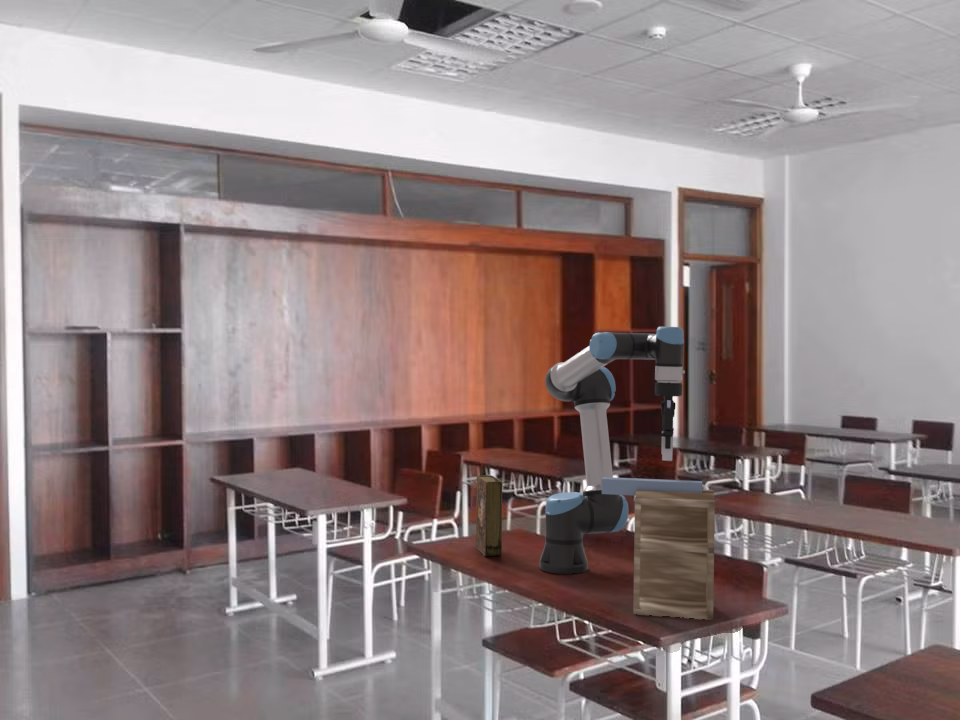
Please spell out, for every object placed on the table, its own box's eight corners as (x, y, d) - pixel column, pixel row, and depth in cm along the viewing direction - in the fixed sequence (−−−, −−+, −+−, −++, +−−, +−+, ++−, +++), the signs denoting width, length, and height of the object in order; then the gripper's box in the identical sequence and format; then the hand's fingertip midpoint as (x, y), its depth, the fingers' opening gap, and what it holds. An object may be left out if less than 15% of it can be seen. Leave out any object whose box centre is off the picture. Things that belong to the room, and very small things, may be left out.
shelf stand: (636, 600, 245) (637, 485, 245) (711, 605, 240) (713, 488, 240) (633, 614, 231) (635, 492, 231) (713, 620, 227) (714, 496, 227)
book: (475, 547, 311) (475, 475, 311) (490, 546, 312) (491, 475, 312) (485, 557, 295) (486, 481, 295) (501, 557, 296) (502, 481, 296)
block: (602, 491, 242) (603, 477, 242) (701, 496, 236) (702, 481, 236) (601, 493, 238) (601, 478, 238) (702, 498, 232) (702, 483, 232)
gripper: (684, 384, 237) (682, 463, 238) (680, 380, 262) (678, 452, 263) (655, 383, 239) (653, 462, 239) (654, 379, 263) (652, 451, 264)
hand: (666, 457), depth 251 cm, fingers open, 13 cm apart
